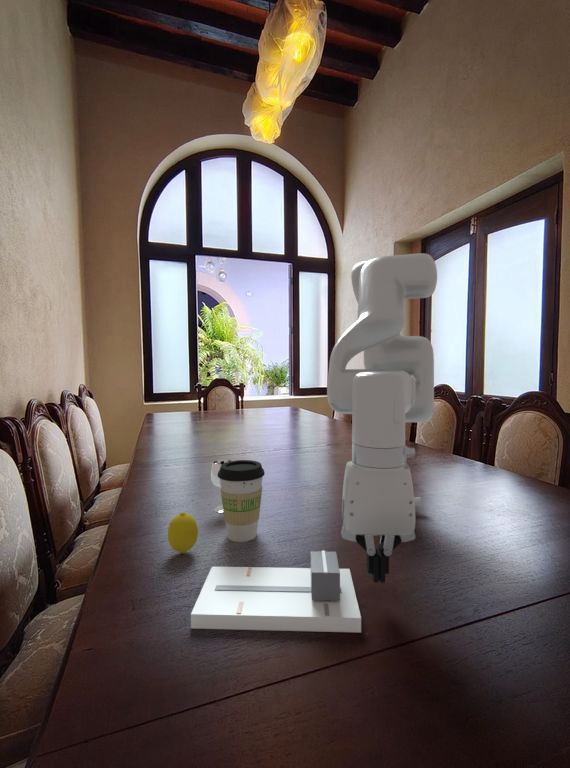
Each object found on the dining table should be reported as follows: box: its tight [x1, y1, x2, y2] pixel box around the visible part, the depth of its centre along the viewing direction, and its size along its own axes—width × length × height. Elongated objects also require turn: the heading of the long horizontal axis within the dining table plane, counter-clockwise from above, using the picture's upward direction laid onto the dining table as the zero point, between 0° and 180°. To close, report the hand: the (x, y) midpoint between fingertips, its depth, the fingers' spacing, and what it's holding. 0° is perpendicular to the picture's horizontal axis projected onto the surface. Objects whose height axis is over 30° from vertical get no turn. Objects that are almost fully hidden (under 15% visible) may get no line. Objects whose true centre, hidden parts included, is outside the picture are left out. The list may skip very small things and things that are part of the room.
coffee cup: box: [218, 459, 265, 543], centre depth 78 cm, size 10×10×15 cm
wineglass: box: [210, 459, 232, 514], centre depth 92 cm, size 6×6×12 cm
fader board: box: [190, 566, 362, 633], centre depth 56 cm, size 23×12×2 cm, turn 88°
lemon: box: [167, 511, 199, 555], centre depth 70 cm, size 6×6×8 cm
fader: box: [310, 550, 340, 600], centre depth 55 cm, size 4×6×4 cm, turn 178°
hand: (377, 577), depth 55 cm, fingers closed
